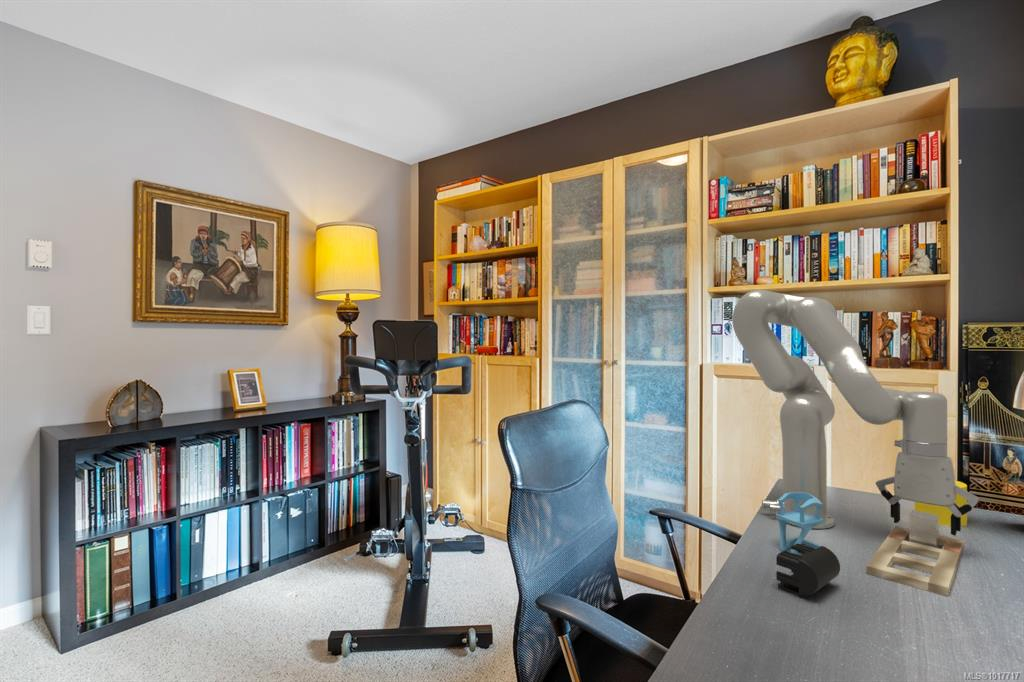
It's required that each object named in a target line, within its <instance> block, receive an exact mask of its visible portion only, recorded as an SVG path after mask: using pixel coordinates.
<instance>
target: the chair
mask: <svg viewBox="0 0 1024 682" xmlns="http://www.w3.org/2000/svg"><path fill="white" fill-rule="evenodd" d="M780 497H781V498H780V499H779V498H778V499H777V500H778V502H779V505H780V509H781V510H780V514H776V513H775V518H776V519H777V520H778V525H779V550H780V551H781V552H782V551H787V550H789V549H790V551H789V552H790V553H794V554H801V553H798V552H797V551H796V550H793V549H791V546H793V545H795V544H797V543H798V544H801V545H805V546H808V547H811V548H815V549H817V548H819V547H820V546H821V545H819V544H817V543H814V542H812V541H808V539H807V540H806V539H805V538H806V537H807V535H808V533H809V532H810V531H811V530H812V529H814V528H813V527H815V526H817V525H820V524H824V519H821V518H820V516H819V511H820V508H821V506H822V503H821V502H820V501H819V500H818V499H817V498H816V497H814V496H812V495H811V494H808V493H804V492H799V493H796V492H791V493H786V494H784V495H783V494H782V495H781V496H780ZM788 498H792V499H794V500H795V511H791V512H787V513H785V509H784V506H783V504H782V503H783V502H784V501H785V500H786V499H788ZM799 501H804V502H805V503H804V504H803V505H802V506H800V510H801V511H799ZM811 506H816V507H817V509H816V510H815V517H814V516H810V515H808V514H805V513H804V511H805V510H806V509H807V508H809V507H811ZM787 522H790V523H792V524H794V525H793V526H795V525H796V527H798V528H801V532H800V534H799V536H793V537H791V538H789V539H788V540H787V524H788V523H787Z"/></svg>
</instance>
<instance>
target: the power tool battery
mask: <svg viewBox="0 0 1024 682" xmlns="http://www.w3.org/2000/svg"><path fill="white" fill-rule="evenodd" d="M794 544H795V543H794ZM794 544H793V545H792V546H791V547H790V550H791V549H793V550H796V551H797V552H798V553H801V554H794V553H790V552H791V551H787V550H785V551H781V552H779V553H778V554H776V558H775V559H776V560H775V561H776V562H775V563H776V565H777V566H780V567H782V568H785V569H789V570H790V573H792V574H791V575H790V574H788V573H785V572H781V571H778V570H776V572H775V573H776V581H778V583H777V588H778V589H779V590H781V591H784V592H786V593H789V594H792V595H794V596H797V597H799V598H806V597H810V596H811V595H813V594H815V593H816V592H817V591H819V590H820V589H822V588H823V587H824V586H826V585H827V584H828V583H830V582H831V581H832V580H834V579H836V577H838V576H839V574H840V571H841V563H840V561H839V559H838V557H837V556H836V554H835V553H834V552H833V551H832V550H831V549H829V548H828V547H826V546H824V545H819V546H820V547H819V548H817V549H815V548H812V547H810V546H807V545H805V544H802V543H801V544H798V543H797V544H795V545H794Z"/></svg>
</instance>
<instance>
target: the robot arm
mask: <svg viewBox="0 0 1024 682" xmlns="http://www.w3.org/2000/svg"><path fill="white" fill-rule="evenodd" d="M731 319H732V320H731V321H732V328H733V331H734V333H735V336H736V338H737V339H738V342H739V343H740V345H741V346H742V348H743V350H744V351H745V353H746V355H747V356H748V359H749V360H750V362H751V364H752V365H753V367H754V368H755V370H756V372H757V374H758V376H759V377H760V378H761V381H762V382H763V383H764V385H765V387H766V388H767V389H768V390H770V391H771V392H773V393H774V392H775V393H781V394H782V395H783V396H784V397H785V399H786V400H785V401H784V402H783V403H782V406H781V408H780V410H779V421H780V429H781V430H780V431H781V443H782V496H783V495H784V494H786V493H791V492H796V493H799V492H804V493H808V494H811V495H812V496H814V497H816V498H817V499H818V500H819V501H820V502H821V503H822V506H821V508H820V511H819V516H820V518H821V519H824V524H820V525H817V526H815V527H813V528H812V529H816V530H817V529H819V530H821V529H824V530H825V529H828V528H832V527H833V526H835V519H834V518H833V517H832V516H831V515H829V514H827V512H828V511H827V510H828V509H827V508H828V506H827V505H828V504H827V499H828V498H827V497H828V496H827V494H828V492H827V491H828V490H827V488H828V487H827V486H828V485H827V482H828V481H827V475H828V474H827V473H828V472H827V469H828V467H827V463H828V462H827V460H828V459H827V440H826V432H825V426H827V425H828V424H830V423H831V422H832V420H833V419H834V416H835V414H836V410H835V409H836V407H835V404H834V402H833V400H832V398H831V396H830V395H829V394H828V392H827V390H826V389H825V386H823V385H822V383H821V381H820V380H819V379H818V377H817V376H816V374H815V372H814V371H813V369H812V368H811V367H810V365H809V364H808V363H807V362H806V361H805V360H804V359H802V358H800V357H799V356H796V355H790V354H789V353H788V351H787V350H786V348H785V347H784V345H783V344H782V342H781V340H780V339H779V337H778V336H777V335H776V334H775V332H774V331H773V329H772V328H771V327H770V325H769V324H775V325H780V326H785V327H791V328H796V330H797V331H798V333H799V334H800V335H801V336H802V337H803V339H804V340H805V341H806V342H807V344H808V345H809V347H810V348H811V349H812V350H813V352H814V353H815V354H816V356H817V357H818V358H819V359H820V361H821V362H822V363H823V366H824V368H825V370H826V371H827V373H828V374H829V377H830V378H831V380H832V382H833V383H834V385H835V386H836V388H837V391H839V392H840V394H841V395H842V397H843V398H844V399H845V401H846V402H847V403H848V404H849V406H850V407H851V408H852V410H853V411H854V412H855V413H856V415H857V416H859V417H860V419H862V420H864V421H865V422H867V423H869V424H871V425H876V426H880V425H881V426H882V425H883V426H884V425H887V424H889V423H891V422H893V421H902V439H899V440H897V439H895V440H894V447H898V448H900V449H901V451H899V452H897V456H896V461H895V468H894V476H889V477H886V478H881V479H878V480H877V481H875V485H876V487H877V489H878V490H879V492H880V494H881V495H882V497H883V498H884V499H885V500H886V501H887V502H888V504H890V518H893V523H894V524H898V523H900V521H901V503H900V502H899V501H900V500H906V501H911V502H914V503H915V502H920V503H926V504H931V505H937V506H943V507H947V508H948V509H949V510H950V511H951V512H952V515H951V526H950V534H951V535H952V536H957V535H956V534H957V532H961V530H962V527H961V516H962V515H964V514H966V513H967V514H968V513H969V512H970V511H972V510H973V509H974V507H975V506H976V505H977V504H978V502H979V500H980V498H979V497H978V496H977V495H975V494H973V493H971V492H969V491H968V490H967V491H966V490H964V489H962V488H960V487H958V486H956V485H955V481H956V477H955V469H954V463H953V460H952V458H951V457H949V456H948V400H947V397H946V395H944V394H942V393H939V392H931V391H906V390H898V389H893V388H885V387H883V386H882V385H881V383H880V382H879V381H878V379H877V378H876V377H875V375H874V374H873V373H872V372H871V370H870V369H869V367H868V365H867V363H866V362H865V359H864V357H863V352H862V349H861V346H860V345H859V343H858V341H857V340H856V339H855V337H854V336H853V335H852V334H851V332H850V331H849V330H848V329H847V328H846V327H845V325H844V324H842V322H841V321H840V319H839V318H838V317H837V310H836V308H835V307H834V305H833V304H832V303H831V302H830V301H828V300H826V299H824V298H820V297H816V296H815V297H814V296H810V297H809V296H808V297H805V296H799V295H794V294H792V295H791V294H786V293H780V292H774V291H770V290H764V289H754V290H750V291H748V292H747V293H745V294H744V295H742V296H741V297H740V299H739V300H738V301H737V302H736V304H735V307H734V309H733V313H732V317H731ZM891 484H893V493H894V495H893V494H892V493H891V492H890V490H888V489H887V487H886V486H889V485H891ZM956 493H957V494H958V495H960V496H962V497H964V498H966V499H967V503H966V504H965V505H963V506H961V507H959V506H958V505H957V504H956V503H955V498H956ZM782 496H779V498H778V499H780V498H781V497H782ZM778 499H775V500H769V499H762V500H761V506H762V508H763V509H769V510H770V511H774V512H775V515H776V514H780V510H781V509H780V505H779V502H778ZM804 503H805V502H804V501H799V511H801V510H800V506H802V505H803V504H804ZM782 504H783V506H784V509H785V513H787V512H791V511H795V500H794V499H792V498H788V499H786V500H785V501H784V502H783V503H782ZM816 509H817V507H816V506H811V507H809V508H807V509H806V510H805V511H804V513H805V514H808V515H810V516H814V517H815V510H816ZM786 524H789V525H791V524H792V523H790V522H787V523H786ZM792 526H796V525H794V524H792ZM796 527H797V526H796Z"/></svg>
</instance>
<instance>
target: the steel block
mask: <svg viewBox="0 0 1024 682" xmlns="http://www.w3.org/2000/svg"><path fill="white" fill-rule="evenodd" d="M908 518H909V520H908V521H909V524H908V525H909V527H908V529H909V539H908V541H909V542H913V543H918V544H922V545H926V546H931V547H935V548H940V547H939V535H940V533H939V532H940V531H939V526H940V525H939V515H935V514H929V513H924V512H919V511H915V509H914V510H911V511H910V513H909V515H908Z"/></svg>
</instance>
